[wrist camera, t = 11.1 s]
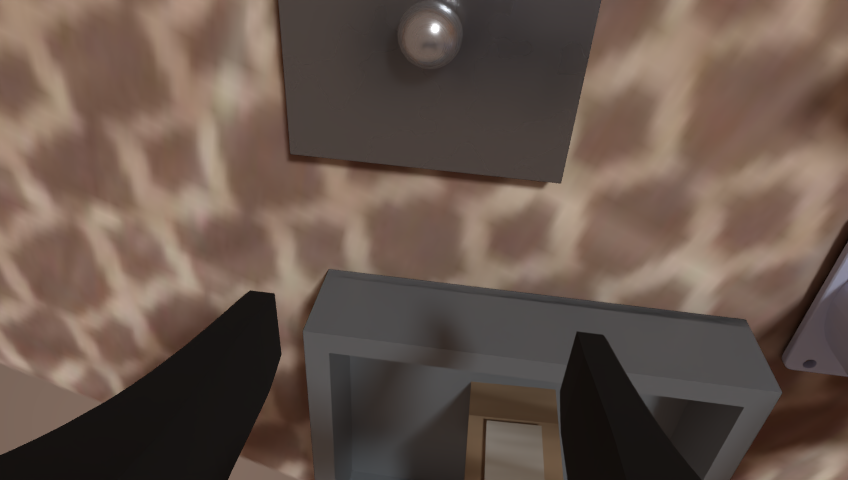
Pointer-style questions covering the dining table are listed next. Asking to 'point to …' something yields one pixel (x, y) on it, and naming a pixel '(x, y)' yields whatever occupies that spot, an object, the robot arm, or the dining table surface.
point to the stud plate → (437, 82)
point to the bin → (508, 372)
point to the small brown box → (512, 434)
